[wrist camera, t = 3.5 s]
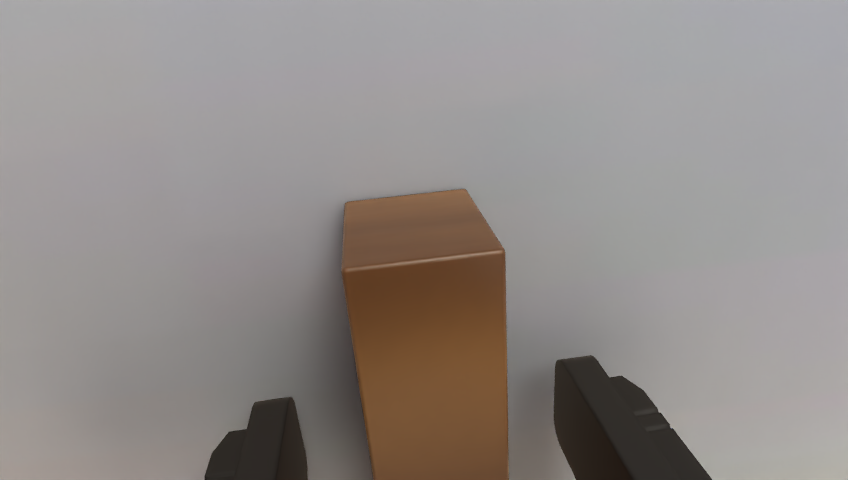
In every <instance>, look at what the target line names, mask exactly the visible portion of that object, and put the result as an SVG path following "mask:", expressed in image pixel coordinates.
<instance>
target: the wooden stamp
mask: <svg viewBox="0 0 848 480" xmlns="http://www.w3.org/2000/svg"><path fill="white" fill-rule="evenodd" d="M341 273H342V280H343V286H344V293H345V299H346V305H347V312H348V318H349V325H350V331H351V338H352V344H353V351H354V357H355V364H356V370H357V376H358V383H359V389H360V396H361V402H362V409H363V415H364V422H365V428H366V435H367V441H368V447H369V454H370V460H371V467H372V473H373V480H509V457H508V393H507V330H506V266H505V250H504V248H503V247H502V245H501V244H500V242H499V241H498V239H497V237H496V236H495V234H494V233H493V231H492V230H491V228H490V226H489V225H488V223H487V222H486V220H485V219H484V217H483V215H482V214H481V212H480V211H479V209H478V208H477V206H476V205H475V203H474V201H473V200H472V198H471V197H470V195H469V194H468V192H467V190H465V189H459V190H450V191H441V192H432V193H423V194H414V195H405V196H396V197H387V198H378V199H369V200H360V201H351V202H347V203H345V206H344V226H343V247H342V268H341Z"/></svg>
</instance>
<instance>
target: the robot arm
mask: <svg viewBox="0 0 848 480" xmlns="http://www.w3.org/2000/svg"><path fill="white" fill-rule="evenodd" d="M554 425H555V430H556V434H557V438H558V441H559V444H560V446H561V449H562V451H563V453H564V455H565V457H566V459H567V461H568V463H569V465H570V467H571V469H572V472H573V474H574V476H575V478H576V480H712V479H711V478H710V476H709V475H708V474H707V472H706V471H705V470H704V468H703V467H702V466H701V465H700V463H699V462H698V461H697V459H696V458H695V457H694V455H693V454H692V453H691V452H690V450H689V449H688V448H687V446H686V445H685V444H684V442H683V441H682V440H681V439H680V437H679V436H678V435H677V433H676V432H675V431H674V429H673V428H672V429H671V428H670V424H669V423H668V422H667V420H666V419H665V418H664V416H663V415H662V414H661V413H659V412H658V409H657V407H656V406H655V405H654V404H653V402H652V401H651V400H650V398H649V397H648V396H647V394H646V393H645V392H644V391H643V390H642V389H641V388H639V387H638V386H636V385H635V384H633V383H632V382H630V381H629V380H627V379H626V378H624V377H623V376H617V377H610V378H609V376H608V375H607V374H606V372H605V371H604V369H603V368H602V366H601V365H600V364H599V362H598V361H597V359H596V358H595V357H594V356H592V355H590V356H582V357H575V358H568V359H561V360H557V362H556V365H555V386H554ZM205 480H307V459H306V453H305V448H304V443H303V439H302V434H301V430H300V425H299V420H298V416H297V411H296V407H295V403H294V400H293V398H292V397H287V398H279V399H272V400H265V401H258V402H255V403H254V405H253V407H252V411H251V415H250V419H249V423H248V427H247V429H246V430H239V431H232V432H229V433H228V434H227V435H226V436H225V438H224V439H223V440H222V441H221V443H220V444H219V445H218V446H217V448H216V449H215V450H214V451H213V453H212V455H211V458H210V461H209V464H208V467H207V470H206V474H205Z"/></svg>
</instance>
